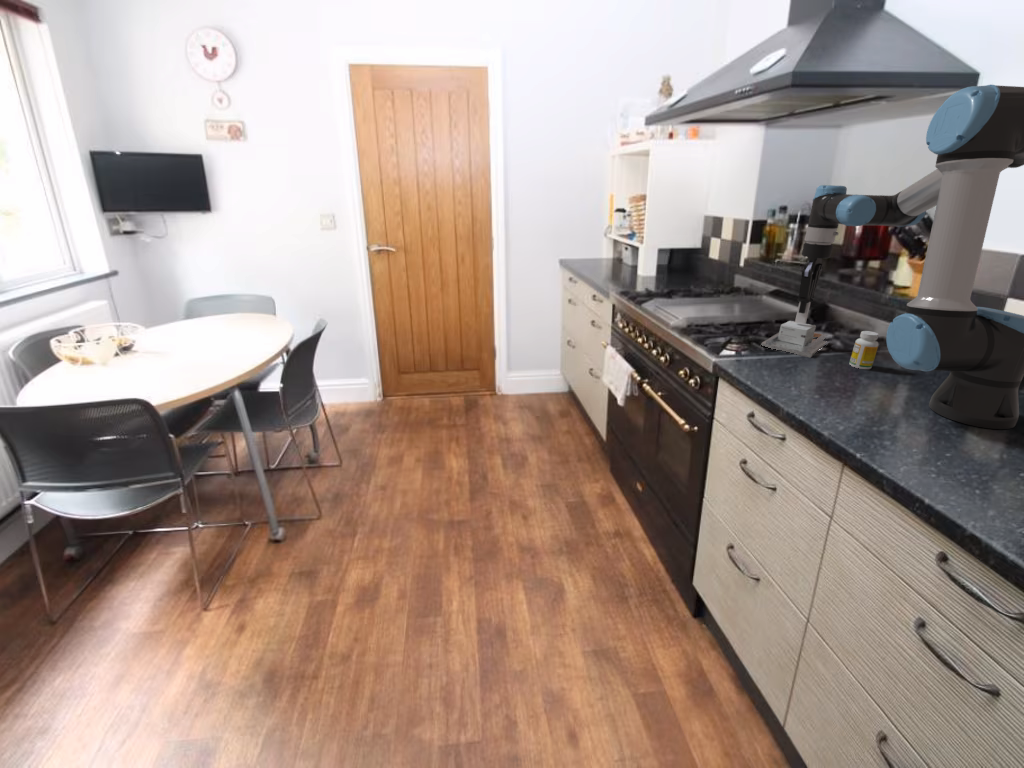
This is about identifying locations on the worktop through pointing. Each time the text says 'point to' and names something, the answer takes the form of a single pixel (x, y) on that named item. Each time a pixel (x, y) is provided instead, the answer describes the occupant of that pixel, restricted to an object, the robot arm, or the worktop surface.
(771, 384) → the worktop surface
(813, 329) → the small box
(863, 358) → the supplement bottle
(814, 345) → the board
